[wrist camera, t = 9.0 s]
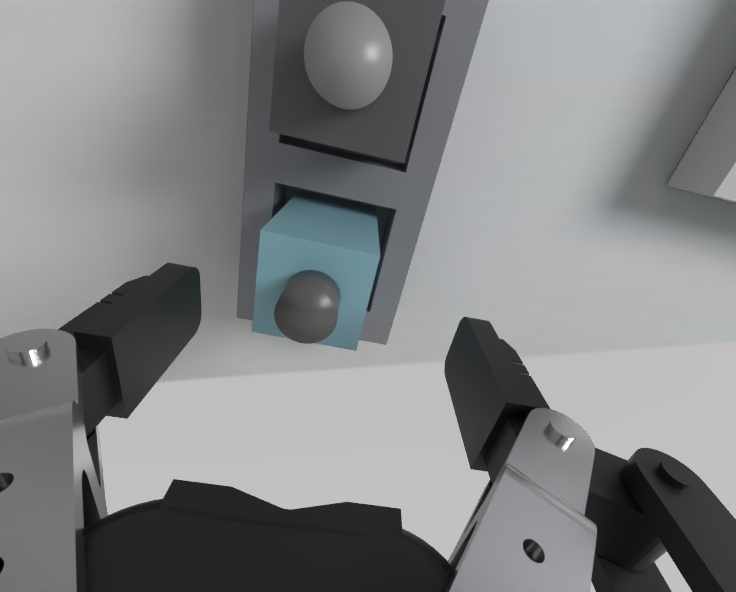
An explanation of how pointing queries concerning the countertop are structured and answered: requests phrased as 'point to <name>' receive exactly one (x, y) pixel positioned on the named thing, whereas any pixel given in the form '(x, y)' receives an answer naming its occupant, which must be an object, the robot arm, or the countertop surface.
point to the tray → (712, 152)
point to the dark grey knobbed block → (352, 71)
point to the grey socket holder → (353, 161)
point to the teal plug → (316, 271)
